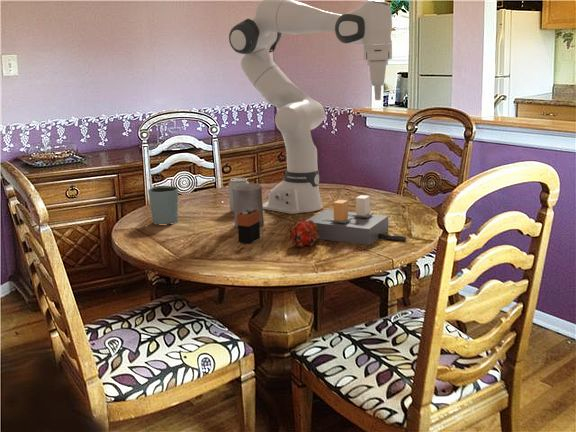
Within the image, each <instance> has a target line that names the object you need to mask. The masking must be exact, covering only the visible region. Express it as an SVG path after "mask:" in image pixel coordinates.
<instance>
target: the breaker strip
mask: <svg viewBox="0 0 576 432" xmlns="http://www.w3.org/2000/svg"><path fill="white" fill-rule="evenodd" d="M355 213H356V211H348V217H351V218H352V219H351V220H349V221H348V222H346V223H339V222H330V220H331V219H333V218H334V209H324V210H322V211H320V212H319V213H316V214H315V215H313V216H311V217H309V218H307V219H306V220H305V221H308V220H312V221H313V222H314V223H316V224H317V226H318V229H319V232H318V233H317V234H318V235H320V237H319V238H318V239H317V240H319V239H320V240H326V241H334V242H342V243H343V242H344V243H348V244H349V243H352V244H358V245H364V244H365V246H366V245H367V246H370V245H371V244H373V243H374V242H376V241H377V240H378V239H383V240H384V239H385V240H392V241H403V242H406V240H407V237H406V236H404V235H396V234H388V233H387V231H388V232H389V215H383V214H374V213H373V215H371V216H370V217H368V218H363V217H353V214H355ZM375 240H376V241H375Z"/></svg>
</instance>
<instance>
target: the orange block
mask: <svg viewBox="0 0 576 432" xmlns="http://www.w3.org/2000/svg"><path fill="white" fill-rule="evenodd" d="M333 210H334V218H333V219H331V220H330V222H339V223H346V222H348V221H349V220H351V219H352V218H351V217H348V212H349V200H346V199H338V200H336V201H333Z"/></svg>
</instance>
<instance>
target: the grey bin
mask: <svg viewBox="0 0 576 432" xmlns="http://www.w3.org/2000/svg"><path fill="white" fill-rule="evenodd" d="M147 191H148V196H149V197H148V198H149V203H150V211H151V218H152V224H153V223H155V224H171V223H175V222H177V223H178V218H179V217H178V215H179V214H178V209H179V205H178V201H179V188H178V187H177V186H175V185H174V186H171V185H161V186H160V185H159V186H153V187H151V188H149V189H147ZM175 224H176V223H175Z"/></svg>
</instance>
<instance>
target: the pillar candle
mask: <svg viewBox="0 0 576 432" xmlns="http://www.w3.org/2000/svg"><path fill="white" fill-rule="evenodd" d="M248 182H249V181H248ZM248 182H247V183H245V184H238V185H235V186H233V201H234V212H233V213H234V214H233V215H234V225H235V226H234V227H235V228H236V229H238V224H237V215H238V214H239V213H242V211H246V210H248V208H254V210H258V211H259V222H260V228H262V227H263V226H264V224H265V223H264V221H265V220H264V219H265V218H264V209H263V204H264V203H263V193H262V192H263V191H262V190H263V189H262V184H261V183H260V184H259V183H254V182H253V183H252V182H249V183H248Z"/></svg>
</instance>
